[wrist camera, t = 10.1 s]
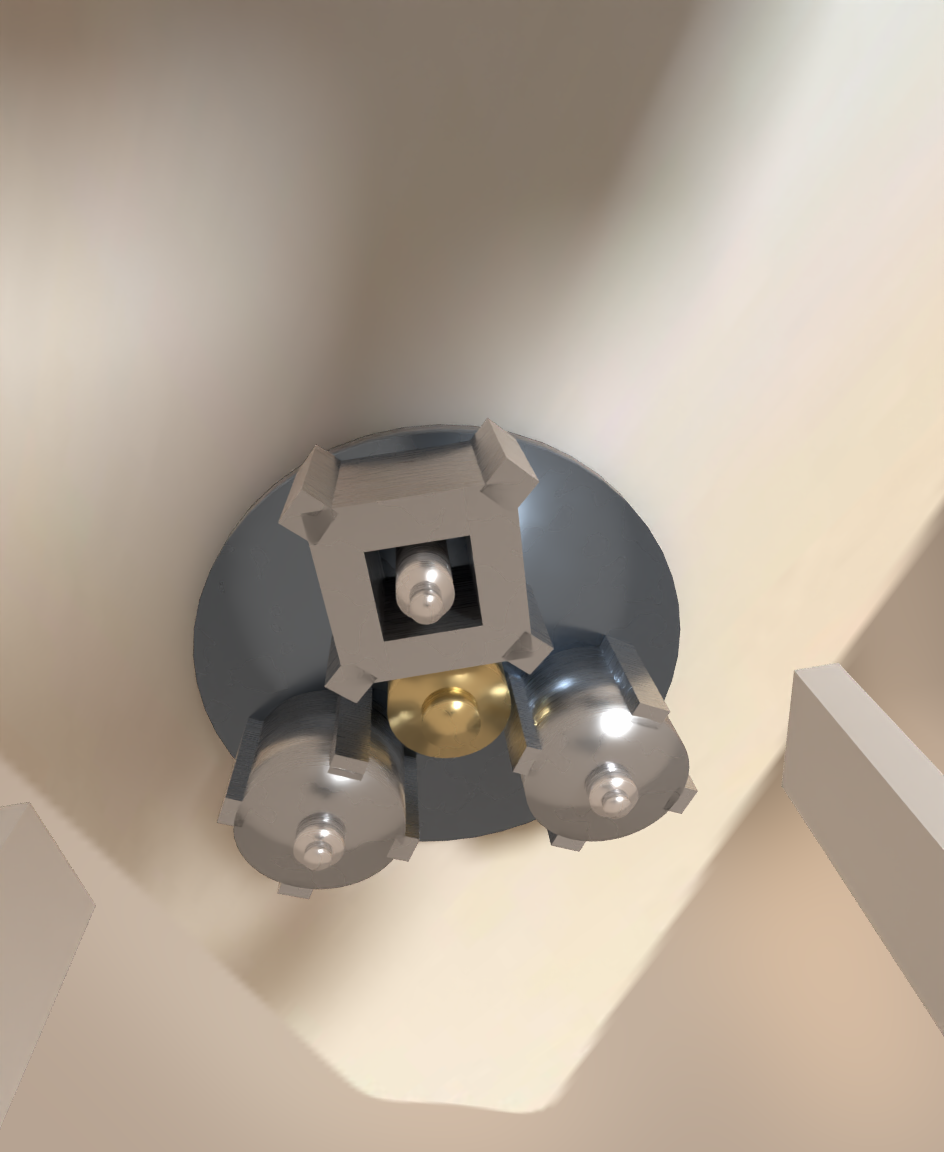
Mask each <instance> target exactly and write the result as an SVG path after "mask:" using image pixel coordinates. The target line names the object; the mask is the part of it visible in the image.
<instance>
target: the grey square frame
mask: <svg viewBox="0 0 944 1152" xmlns="http://www.w3.org/2000/svg"><path fill="white" fill-rule="evenodd" d="M538 483H539V480H538V478H537V476H536V475H535V473H534V471H533V469H532V467H531V466H530V464H529V462H528V460H527V458H526V457H525V455H524V453H523V451H522V449H521V448H520V446H519V444H518V442H517V440H516V439H515V438H514V437H513V436H511V435H510V434H509V433H507V432H506V431H505V430H503V429H502V428H501V427H499V426H498V425H497V424H495V423H494V422H493V421H492V420H490V419H489V418H487V419H486V420H485V422H484V423H483V424H482V425H481V427H480V428H479V429H478V431H477V432H476V433H475V435H474V436H473V437H472V439H471V440H470V441H464V442H458V443H451V444H445V445H439V446H432V447H426V448H419V449H413V450H406V451H400V452H393V453H387V454H381V455H374V456H368V457H361V458H355V459H348V460H342V461H341V460H340V459H338V458H337V457H335V456H334V455H332V454H331V453H329V452H328V451H326V450H325V449H323V448H322V447H320V446H319V445H317V444H316V445H315V447H314V448H313V450H312V451H311V453H310V454H309V456H308V457H307V459H306V460H305V461H304V463H303V464H302V466H301V467H300V469H299V470H298V472H297V474H296V476H295V479H294V482H293V484H292V487H291V490H290V492H289V495H288V498H287V500H286V503H285V506H284V508H283V511H282V514H281V516H280V519H279V522H278V523H279V524H280V525H282V526H284V527H285V528H287V529H289V530H290V531H292V532H294V533H295V534H297V535H299V536H300V537H302V538H304V539H305V540H307V541H308V543H309V547H310V550H311V554H312V558H313V562H314V565H315V569H316V573H317V577H318V581H319V584H320V588H321V592H322V596H323V600H324V603H325V607H326V611H327V615H328V618H329V622H330V626H331V630H332V637H331V644H330V651H329V658H328V664H327V671H326V678H325V685H324V687H326V688H328V689H330V690H332V691H334V692H335V693H337V694H339V695H341V696H343V697H345V698H347V699H349V700H351V701H353V702H355V703H357V702H358V701H359V700H360V699H361V697H362V696H363V695H364V694H365V693H366V691H367V690H368V689H369V688H370V686H371V685H372V684H373V683H377V682H383V681H389V680H395V679H401V678H407V677H413V676H419V675H425V674H431V673H437V672H443V671H449V670H456V669H462V668H468V667H474V666H480V665H486V664H492V663H498V662H504V661H508V662H510V663H511V664H513V665H515V666H516V667H518V668H520V669H521V670H523V671H525V672H526V673H528V674H531V673H532V672H533V671H534V670H535V669H536V668H537V667H538V665H539V664H540V663H541V662H542V661H543V660H544V659H545V658H546V657H547V656H548V655H549V654H550V652H551V651H552V650H553V649H554V648H553V645H552V642H551V640H550V637H549V634H548V632H547V629H546V626H545V623H544V621H543V618H542V615H541V613H540V610H539V607H538V605H537V602H536V599H535V597H534V594H533V591H532V589H531V586H530V585H529V584H527V583H526V580H525V571H524V561H523V552H522V542H521V532H520V523H519V513H518V507H519V506H520V505H521V504H522V502H523V501H524V500H525V499H526V498H527V496H528V495H529V494H530V493H531V491H532V490H533V489H534V488H535V487H536V485H537V484H538ZM463 536H465V537H466V544H467V551H468V558H469V564H467V565H461V566H454V567H451V572H452V579H453V585H454V591H455V598H454V602H453V604H452V606H451V608H450V609H449V610H448V611H447V612H446V613H445V614H444V615H442V616H441V618H440V619H439V620H438V621H437V622H435V623H432V624H427V625H425V624H420V623H418V622H416V621H415V620H414V619H413V618H411V617H409V616H407V615H406V614H404V613H403V612H402V610H401V609H400V608H399V606H398V604H397V601H396V576H392V577H386V578H385V574H384V570H383V565H382V560H381V555H380V551H379V550H381V549H387V548H393V547H400V546H406V545H412V544H419V543H425V542H431V541H437V540H444V539H450V538H456V537H463Z"/></svg>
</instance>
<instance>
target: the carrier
mask: <svg viewBox="0 0 944 1152" xmlns="http://www.w3.org/2000/svg"><path fill="white" fill-rule="evenodd" d="M479 428H480V427H478V426H464V425H427V426H416V427H405V428H399V429H395V430H390V431H386V432H381V433H377V434H372V435H368V436H365V437H362V438H359V439H357V440H354V441H351V442H348V443H346V444H343V445H340V446H337V447H335V448H332V449H331V450H329V451H328V452H329V453H331V454H332V455H334V456H335V457H337V458H338V459H340V460H341V461H342V460H348V459H355V458H361V457H368V456H374V455H381V454H387V453H393V452H400V451H406V450H413V449H419V448H426V447H432V446H439V445H445V444H451V443H458V442H464V441H470V440H471V439H472V437H473V436H474V435H475V433H476V432H477V431H478V429H479ZM506 432H507V431H506ZM507 433H509V434H510V435H511V436H513V437H514V438H515V439H516V440H517V442H518V444H519V446H520V448H521V449H522V451H523V453H524V455H525V457H526V458H527V460H528V462H529V464H530V466H531V467H532V469H533V471H534V473H535V475H536V476H537V478H538V480H539V483H538V484H537V485H536V487H535V488H534V489H533V490H532V491H531V493H530V494H529V495H528V496H527V498H526V499H525V500H524V501H523V502H522V504H521V505H520V506H519V507H518V513H519V523H520V532H521V542H522V552H523V561H524V571H525V580H526V583H527V584H529V585H530V586H531V589H532V591H533V594H534V597H535V599H536V602H537V605H538V607H539V610H540V613H541V615H542V618H543V621H544V623H545V626H546V629H547V632H548V634H549V637H550V640H551V642H552V645H553V648H554V649H553V650H552V651H551V652H550V654H549V655H548V656H547V657H546V658H545V659H544V660H543V661H542V662H541V663H540V664H539V665H538V667H537V668H536V669H535V670H534V671H533V672H532V673H531V674H528V673H526V672H525V671H523V670H521V669H520V668H518V667H516V666H515V665H513V664H511V663H510V662H508V661H504V662H498V663H492V664H486V665H480V666H474V667H468V668H462V669H456V670H449V671H443V672H437V673H431V674H425V675H419V676H413V677H407V678H401V679H395V680H389V681H383V682H377V683H373V684H372V685H371V686H370V688H369V689H368V690H367V691H366V693H365V694H364V695H363V696H362V697H361V699H360V700H359V701H358V702H357V703H355V702H353V701H351V700H349V699H347V698H345V697H343V696H341V695H339V694H337V693H335V692H334V691H332V690H330V689H328V688H326V687H324V685H325V678H326V671H327V664H328V658H329V651H330V644H331V637H332V630H331V626H330V622H329V618H328V615H327V611H326V607H325V603H324V600H323V596H322V592H321V588H320V584H319V581H318V577H317V573H316V569H315V565H314V562H313V558H312V554H311V550H310V547H309V543H308V541H307V540H305V539H304V538H302V537H300V536H299V535H297V534H295V533H294V532H292V531H290V530H289V529H287V528H285V527H284V526H282V525H280V524H279V523H278V522H279V519H280V516H281V514H282V511H283V508H284V506H285V503H286V500H287V498H288V495H289V492H290V490H291V487H292V484H293V482H294V479H295V476H296V474H297V472H298V470H299V469H300V467H301V466H302V465H301V466H299V467H298V468H297V469H295V470H294V471H292V472H291V473H290V474H288V475H287V476H285V477H284V478H283V479H281V480H280V481H278V482H277V483H276V484H274V485H273V486H272V487H271V488H270V489H269V490H268V491H267V492H266V493H265V494H264V495H263V496H262V497H261V498H260V499H259V500H258V501H257V502H255V503H254V504H253V505H252V506H251V507H250V509H249V510H248V511H247V513H246V514H245V515H244V516H243V518H242V519H241V520H240V522H239V523H238V524H237V525H236V527H235V528H234V529H233V531H232V532H231V534H230V535H229V537H228V539H227V541H226V542H225V544H224V546H223V548H222V550H221V551H220V553H219V555H218V557H217V559H216V561H215V562H214V564H213V566H212V568H211V570H210V572H209V575H208V578H207V581H206V583H205V586H204V589H203V592H202V594H201V597H200V600H199V605H198V610H197V616H196V621H195V626H194V652H193V657H194V664H195V672H196V679H197V685H198V688H199V691H200V694H201V698H202V701H203V704H204V707H205V710H206V712H207V714H208V716H209V718H210V720H211V723H212V725H213V727H214V729H215V731H216V733H217V734H218V736H219V737H220V739H221V740H222V742H223V743H224V745H225V746H226V748H227V749H228V751H229V752H230V754H231V755H232V756H233V757H234V758H235V762H234V765H233V768H232V772H231V775H230V779H229V782H228V786H227V789H226V793H225V796H224V799H223V803H222V806H221V810H220V813H219V817H218V820H217V823H221V824H226V825H231V826H234V829H233V830H234V838H235V841H236V844H237V847H238V849H239V851H240V853H241V854H242V856H243V857H244V858H245V860H246V861H247V862H248V863H249V864H250V865H251V866H252V867H253V868H255V869H256V870H257V871H259V872H260V873H262V874H263V875H265V876H267V877H269V878H271V879H273V880H275V881H277V882H279V887H278V892H277V893H278V894H284V895H289V896H295V897H300V898H306V899H309V898H310V895H311V893H312V891H313V889H330V888H338V887H343V886H347V885H351V884H354V883H357V882H360V881H363V880H365V879H367V878H369V877H371V876H373V875H375V874H376V873H378V872H379V871H381V870H382V869H383V868H385V867H386V866H387V865H388V864H389V863H390V862H391V861H392V860H393V859H398V860H403V861H409V859H410V857H411V855H412V853H413V851H414V850H415V848H416V846H417V844H418V842H419V841H449V840H457V839H464V838H472V837H478V836H483V835H487V834H492V833H496V832H501V831H504V830H507V829H510V828H513V827H516V826H520V825H523V824H526V823H529V822H531V821H533V820H535V819H536V820H537V821H538V822H539V823H540V824H541V825H543V826H544V827H545V828H546V829H547V830H548V834H549V838H550V842H551V845H552V846H556V847H561V848H565V849H570V850H574V851H580V850H581V848H582V847H583V845H584V843H585V842H586V841H605V840H612V839H617V838H621V837H624V836H627V835H630V834H633V833H635V832H638V831H640V830H642V829H644V828H646V827H647V826H649V825H651V824H652V823H654V822H655V821H657V820H658V819H660V818H661V817H662V816H663V815H664V814H666V813H667V812H668V811H672V812H676V813H680V814H682V812H683V811H684V810H685V808H686V807H687V805H688V804H689V803H690V801H691V800H692V798H693V797H694V796H695V794H696V793H697V789H696V787H695V785H694V783H693V781H692V779H691V777H690V776H689V759H688V755H687V751H686V749H685V747H684V745H683V743H682V741H681V739H680V737H679V735H678V734H677V732H676V730H675V728H674V726H673V725H672V723H671V721H670V719H669V717H668V714H669V712H670V711H669V709H668V707H667V705H666V703H665V702H664V700H665V697H666V694H667V692H668V689H669V687H670V684H671V682H672V678H673V674H674V670H675V666H676V661H677V657H678V649H679V637H680V619H679V604H678V599H677V595H676V590H675V586H674V581H673V577H672V575H671V572H670V570H669V567H668V565H667V562H666V559H665V557H664V554H663V552H662V550H661V548H660V547H659V545H658V543H657V542H656V540H655V538H654V537H653V535H652V533H651V532H650V530H649V528H648V527H647V526H646V524H645V523H644V522H643V521H642V519H641V518H640V517H639V516H638V515H637V513H636V512H635V511H634V510H633V509H632V507H631V506H630V505H629V504H628V502H627V501H626V500H625V499H624V498H623V496H622V495H621V494H620V493H619V492H618V491H617V490H615V489H614V488H613V487H612V486H611V485H610V484H609V483H608V482H607V481H605V480H604V479H603V478H602V477H601V476H600V475H599V474H598V473H596V472H594V471H593V470H591V469H590V468H588V467H587V466H585V465H584V464H582V463H581V462H579V461H578V460H576V459H575V458H573V457H572V456H570V455H568V454H566V453H563V452H561V451H559V450H557V449H555V448H553V447H551V446H549V445H546V444H544V443H542V442H540V441H536V440H533V439H530V438H527V437H524V436H520V435H517V434H514V433H511V432H507ZM379 551H380V555H381V560H382V565H383V570H384V574H385V578H386V577H392V576H396V601H397V604H398V606H399V608H400V609H401V610H402V612H403V613H404V614H406V615H407V616H409V617H411V618H413V619H414V620H415V621H416V622H418V623H420V624H425V625H427V624H432V623H435V622H437V621H438V620H439V619H440V618H441V616H442V615H444V614H445V613H446V612H447V611H448V610H449V609H450V608H451V606H452V604H453V602H454V598H455V591H454V585H453V579H452V572H451V567H454V566H461V565H467V564H469V558H468V551H467V544H466V537H465V536H463V537H456V538H450V539H444V540H437V541H431V542H425V543H419V544H412V545H406V546H400V547H393V548H387V549H381V550H379Z"/></svg>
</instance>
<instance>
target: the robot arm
mask: <svg viewBox="0 0 944 1152" xmlns="http://www.w3.org/2000/svg"><path fill="white" fill-rule="evenodd" d="M782 787H783V789H784V790H785V792H786V793H787V795H788V797H789V798H790V799H791V801H792V803H793V804H794V806H795V807H796V809H797V810H798V812H799V813H800V815H801V817H802V818H803V820H804V821H805V823H806V824H807V826H808V827H809V829H810V830H811V832H812V833H813V835H814V837H815V838H816V840H817V841H818V843H819V844H820V846H821V847H822V849H823V851H824V852H825V853H826V855H827V857H828V858H829V860H830V861H831V863H832V864H833V866H834V867H835V869H836V871H837V872H838V874H839V875H840V877H841V878H842V880H843V881H844V883H845V884H846V886H847V888H848V889H849V891H850V892H851V894H852V895H853V897H854V898H855V900H856V901H857V903H858V905H859V906H860V908H861V909H862V911H863V912H864V914H865V915H866V917H867V918H868V920H869V921H870V923H871V924H872V926H873V928H874V929H875V931H876V932H877V934H878V935H879V937H880V938H881V940H882V942H883V943H884V945H885V946H886V948H887V949H888V951H889V952H890V954H891V955H892V957H893V959H894V960H895V962H896V963H897V965H898V966H899V967H900V969H901V971H902V972H903V974H904V975H905V977H906V979H907V980H908V982H909V983H910V985H911V986H912V988H913V989H914V991H915V992H916V994H917V995H918V997H919V999H920V1000H921V1002H922V1003H923V1005H924V1006H925V1008H926V1009H927V1011H928V1012H929V1014H930V1016H931V1017H932V1019H933V1020H934V1022H935V1023H936V1025H937V1026H938V1028H939V1029H940V1031H941V1033H942V1034H943V1036H944V775H943V774H942V773H941V772H940V771H939V770H938V768H937V767H936V766H935V765H934V764H933V763H932V762H931V761H930V760H929V759H928V758H927V757H926V756H925V755H924V754H923V753H922V751H921V750H920V749H919V748H918V747H917V746H916V745H915V744H914V743H913V742H912V741H911V740H910V739H909V738H908V737H907V736H906V734H905V733H904V732H902V730H901V729H900V728H899V727H898V726H897V725H896V724H895V723H894V722H893V721H892V720H891V719H890V717H889V716H888V715H887V714H886V713H885V712H884V711H883V710H882V709H881V708H880V707H879V706H878V705H877V704H876V703H875V702H874V700H873V699H872V698H871V697H870V696H869V695H868V694H867V693H866V692H865V691H864V690H863V689H862V688H861V687H860V686H859V684H858V683H857V682H855V680H854V679H853V678H852V677H851V676H850V675H849V674H848V673H847V672H846V671H845V670H844V669H843V667H842V666H841V665H840V664H839V663H834V664H828V665H823V666H817V667H811V668H805V669H799V670H794V676H793V686H792V695H791V704H790V713H789V722H788V732H787V741H786V750H785V759H784V769H783V778H782ZM95 906H96V905H95V903H94V902H93V900H92V899H91V897H90V896H89V894H88V892H87V891H86V889H85V888H84V886H83V884H82V883H81V881H80V880H79V878H78V877H77V875H76V874H75V872H74V870H73V869H72V867H71V866H70V864H69V863H68V861H67V860H66V858H65V856H64V855H63V853H62V852H61V850H60V849H59V847H58V846H57V844H56V842H55V841H54V839H53V838H52V836H51V835H50V833H49V831H48V830H47V828H46V827H45V825H44V824H43V822H42V821H41V819H40V817H39V816H38V815H37V813H36V811H35V810H34V808H33V807H32V805H31V803H30V802H26V803H20V804H15V805H9V806H3V807H0V1128H1V1126H2V1123H3V1121H4V1119H5V1116H6V1114H7V1112H8V1109H9V1107H10V1105H11V1102H12V1100H13V1098H14V1095H15V1093H16V1090H17V1088H18V1086H19V1084H20V1081H21V1079H22V1076H23V1074H24V1072H25V1070H26V1067H27V1065H28V1063H29V1060H30V1058H31V1055H32V1053H33V1051H34V1048H35V1046H36V1044H37V1041H38V1039H39V1037H40V1034H41V1032H42V1030H43V1027H44V1025H45V1023H46V1020H47V1018H48V1016H49V1013H50V1011H51V1009H52V1006H53V1004H54V1002H55V999H56V997H57V995H58V992H59V990H60V988H61V985H62V983H63V981H64V978H65V976H66V974H67V971H68V969H69V967H70V964H71V962H72V959H73V957H74V955H75V953H76V950H77V948H78V945H79V943H80V941H81V939H82V936H83V934H84V932H85V929H86V927H87V925H88V922H89V920H90V918H91V915H92V913H93V911H94V908H95Z"/></svg>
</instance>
